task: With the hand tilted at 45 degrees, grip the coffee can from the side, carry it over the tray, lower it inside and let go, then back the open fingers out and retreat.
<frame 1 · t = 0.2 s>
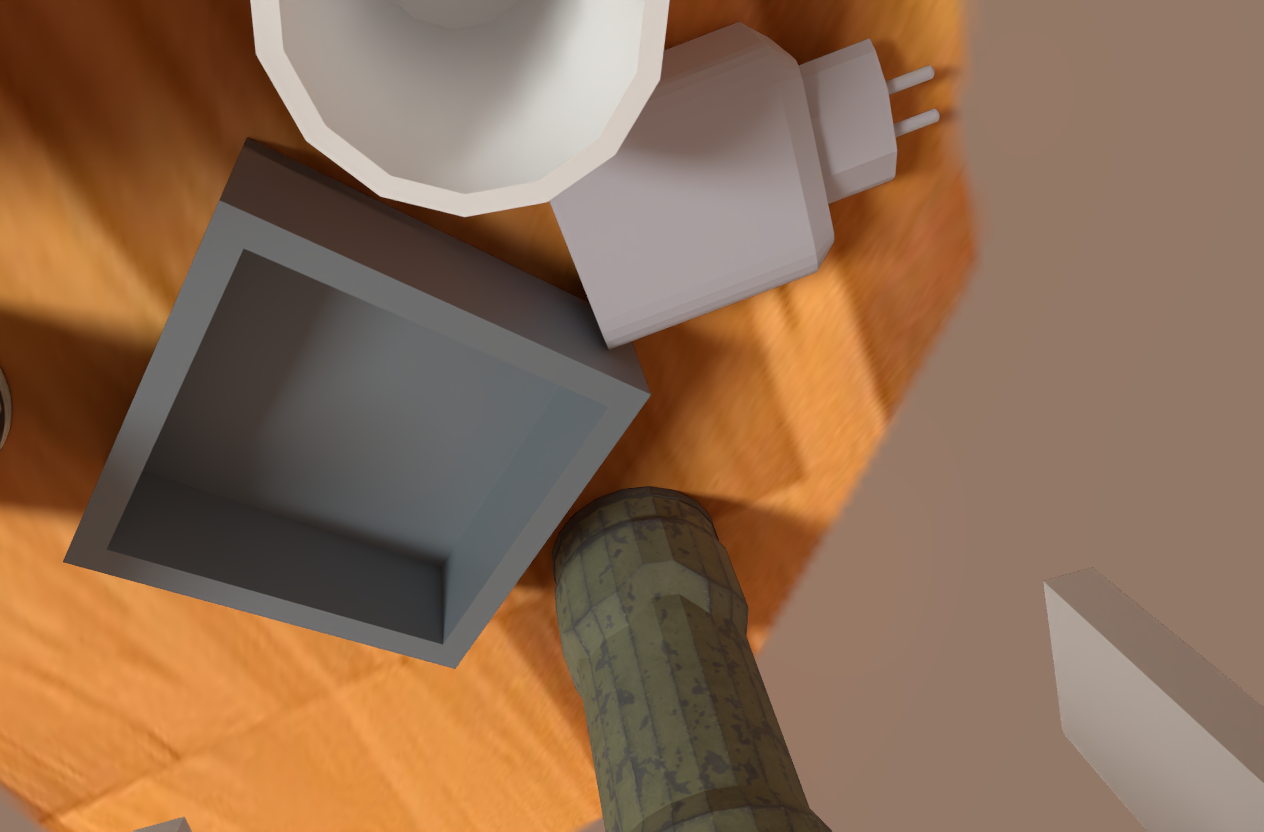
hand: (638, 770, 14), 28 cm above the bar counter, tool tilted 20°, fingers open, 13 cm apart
thermos: (634, 548, 50), on the bar counter
charger: (729, 140, 39), on the bar counter
tray: (366, 392, 42), on the bar counter
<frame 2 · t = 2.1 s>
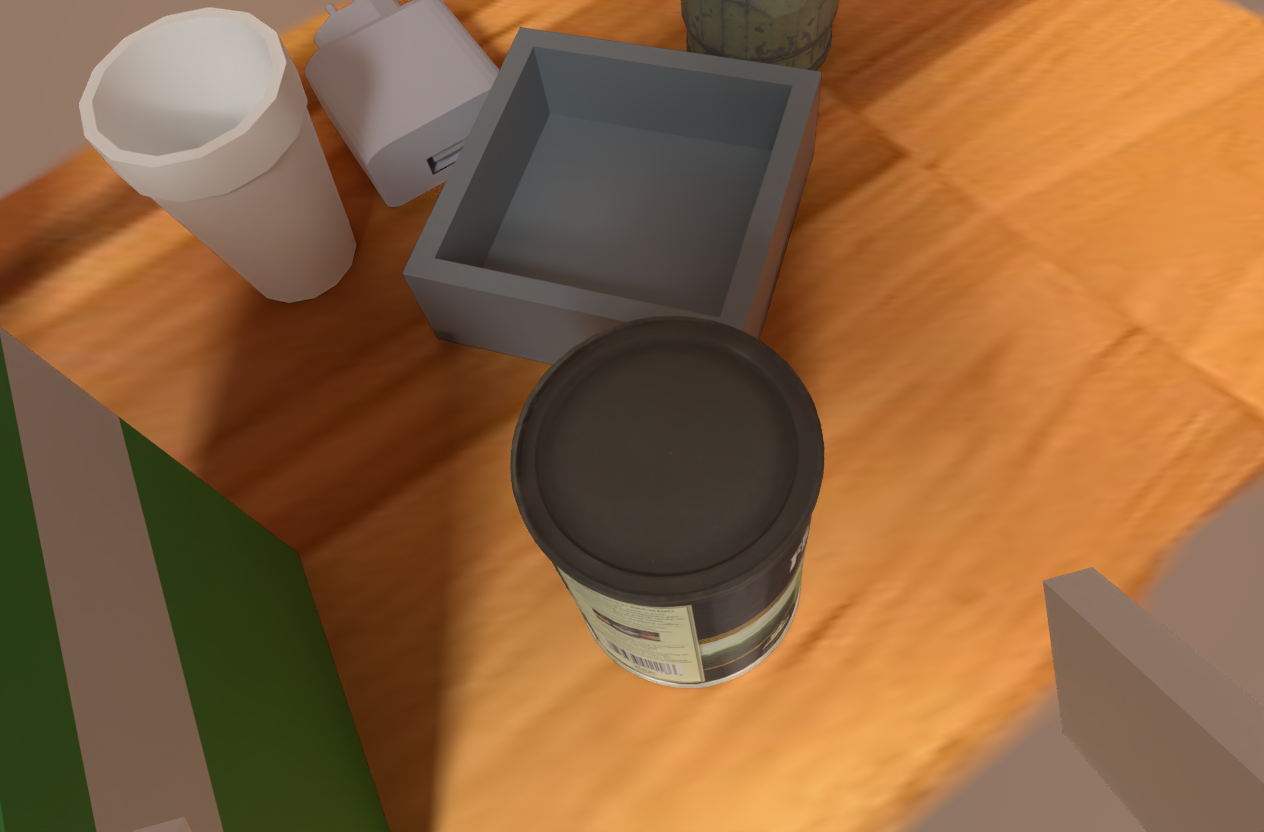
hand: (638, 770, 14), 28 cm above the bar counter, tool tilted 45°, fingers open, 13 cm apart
thermos: (756, 42, 58), on the bar counter
hardback book: (277, 763, 42), on the bar counter
charger: (406, 101, 60), on the bar counter
foam cup: (303, 257, 55), on the bar counter
coffee can: (687, 575, 44), on the bar counter
tray: (630, 243, 53), on the bar counter
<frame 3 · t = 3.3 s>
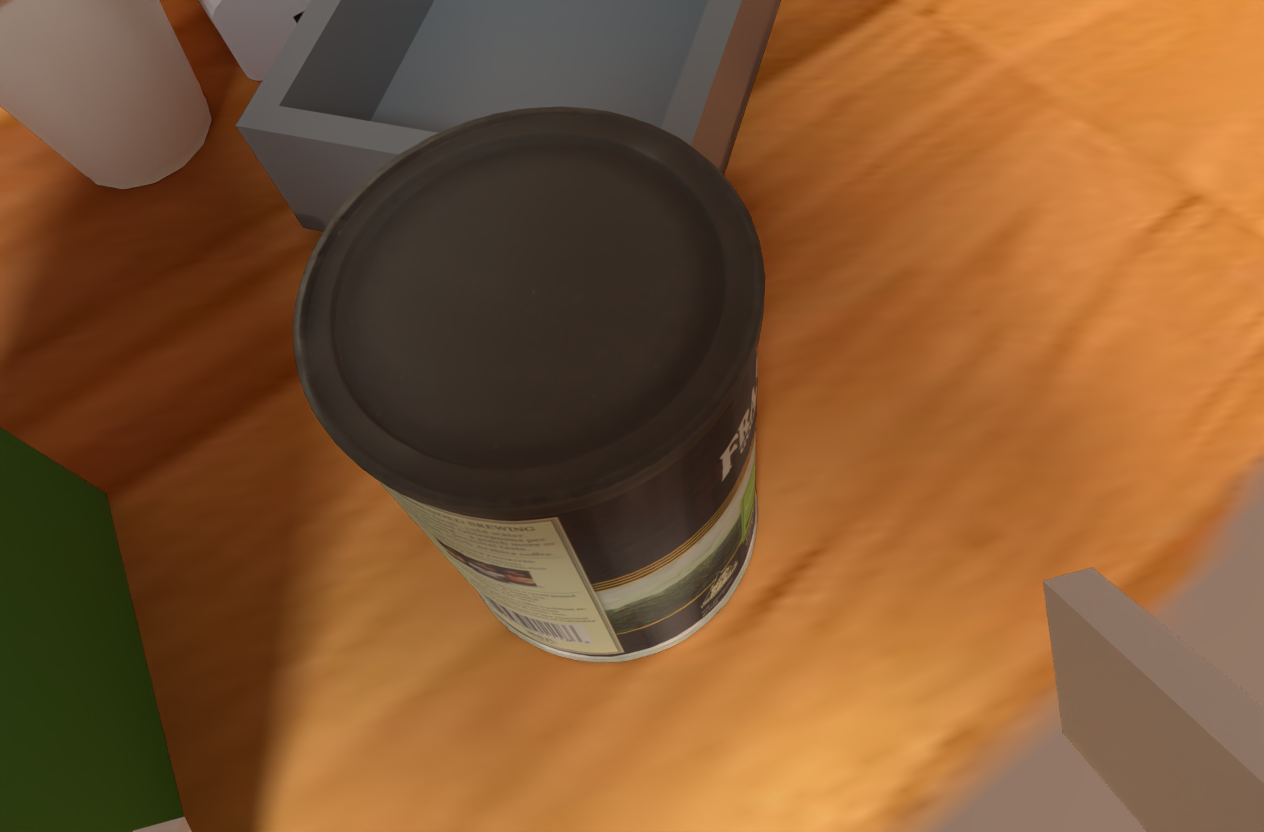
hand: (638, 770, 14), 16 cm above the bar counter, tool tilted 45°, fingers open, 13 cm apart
hardback book: (55, 767, 32), on the bar counter
foam cup: (146, 136, 44), on the bar counter
coffee can: (607, 515, 34), on the bar counter
tray: (550, 110, 42), on the bar counter
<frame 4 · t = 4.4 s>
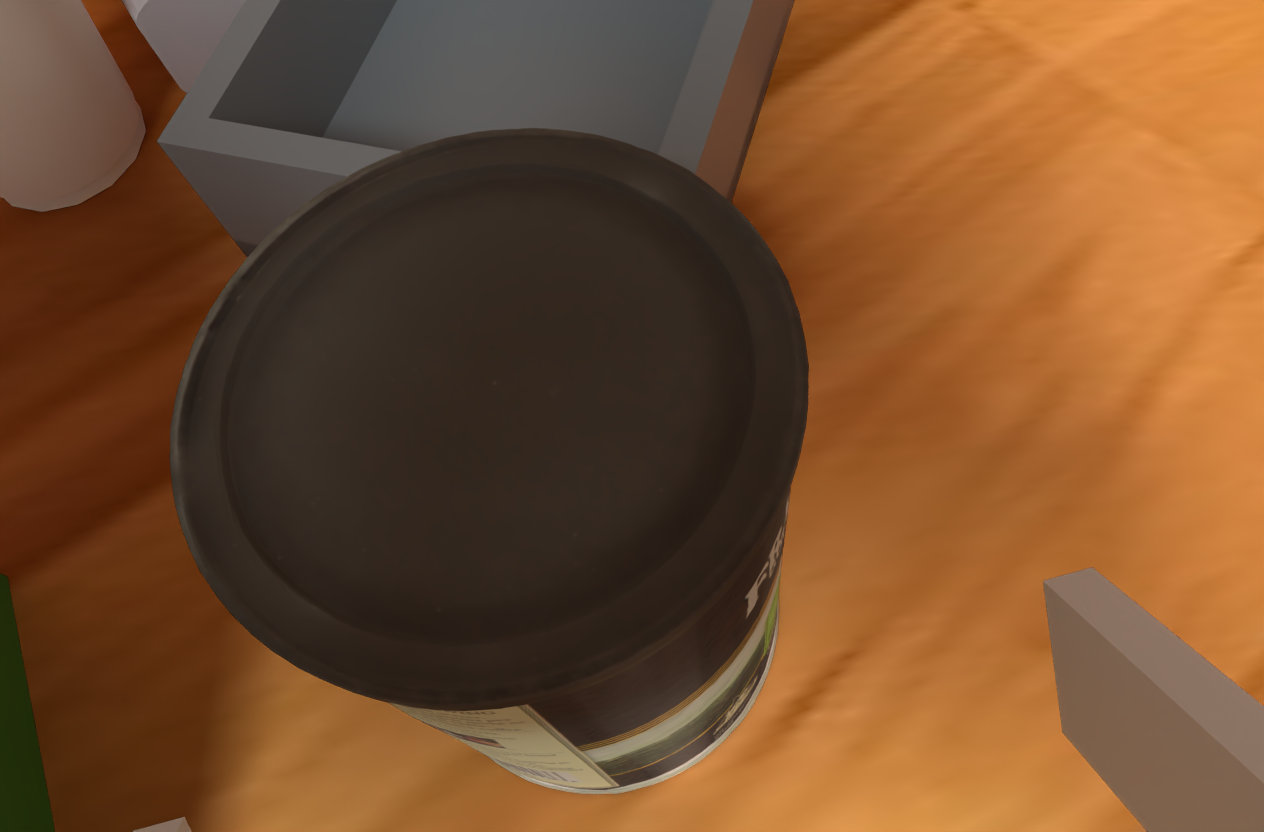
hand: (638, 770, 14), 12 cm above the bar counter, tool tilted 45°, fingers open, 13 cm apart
foam cup: (71, 150, 38), on the bar counter
coffee can: (599, 606, 28), on the bar counter
tray: (532, 119, 36), on the bar counter
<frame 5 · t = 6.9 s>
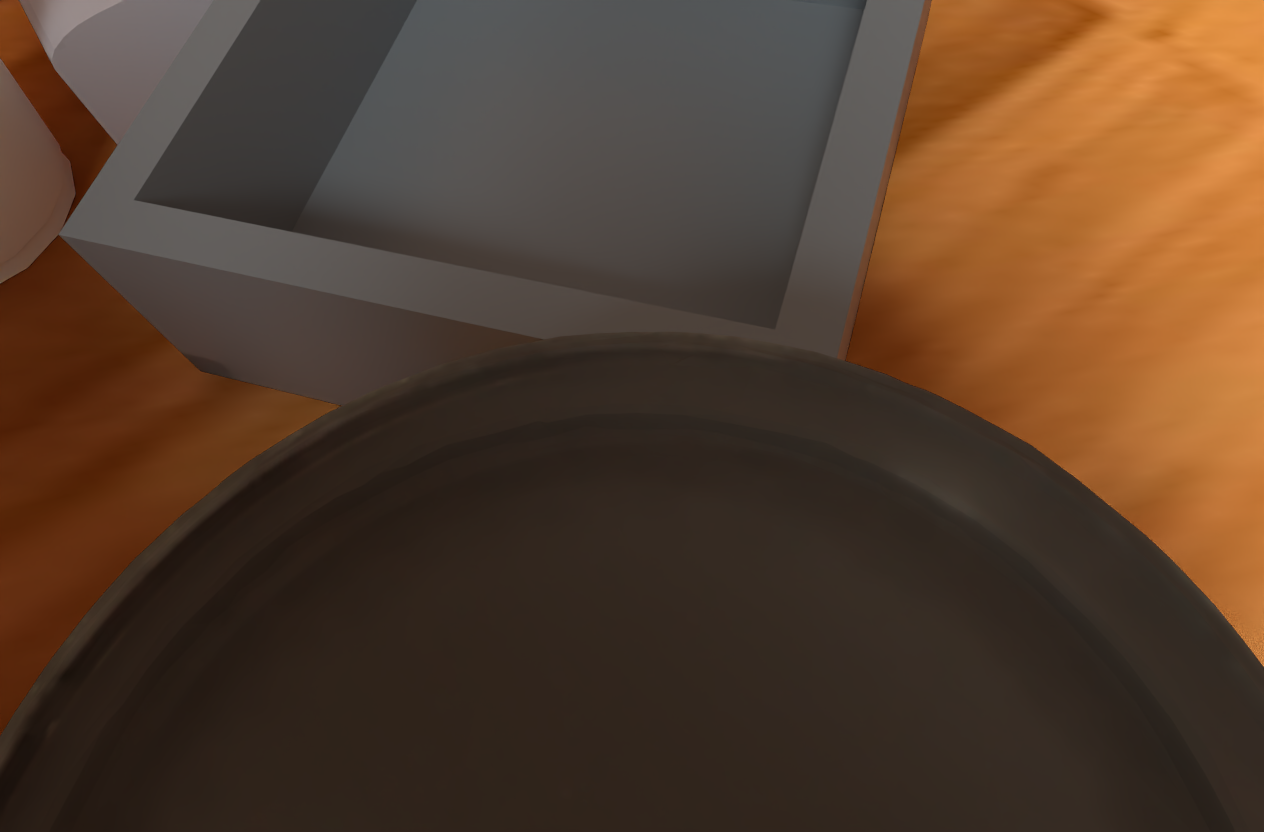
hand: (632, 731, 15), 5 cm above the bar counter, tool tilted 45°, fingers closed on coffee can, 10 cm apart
tray: (583, 184, 27), on the bar counter
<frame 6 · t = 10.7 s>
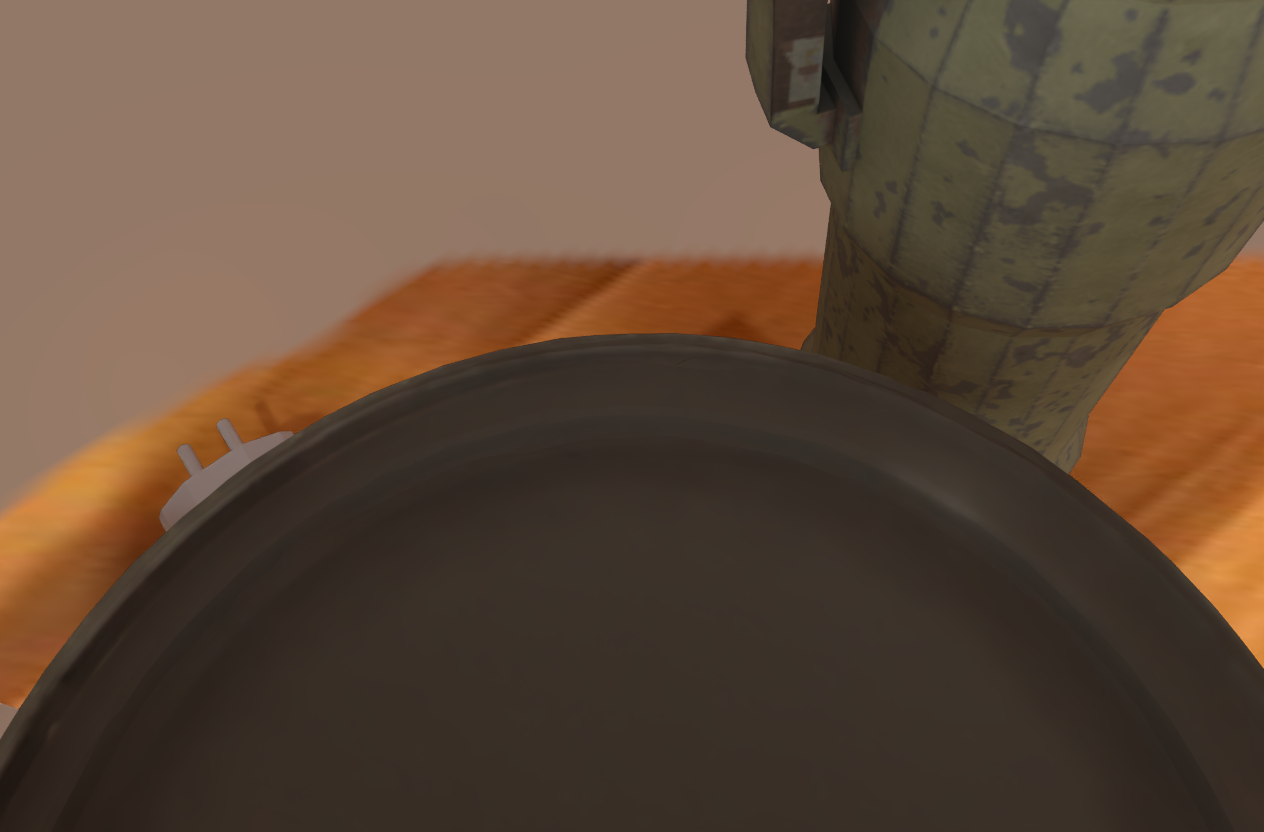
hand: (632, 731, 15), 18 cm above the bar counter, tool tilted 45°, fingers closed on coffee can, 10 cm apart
thermos: (901, 479, 36), on the bar counter
charger: (318, 602, 37), on the bar counter
when the fingers open (8 cm above the bar counter, at t = 13.3 s): coffee can drops 2 cm, resting on tray.
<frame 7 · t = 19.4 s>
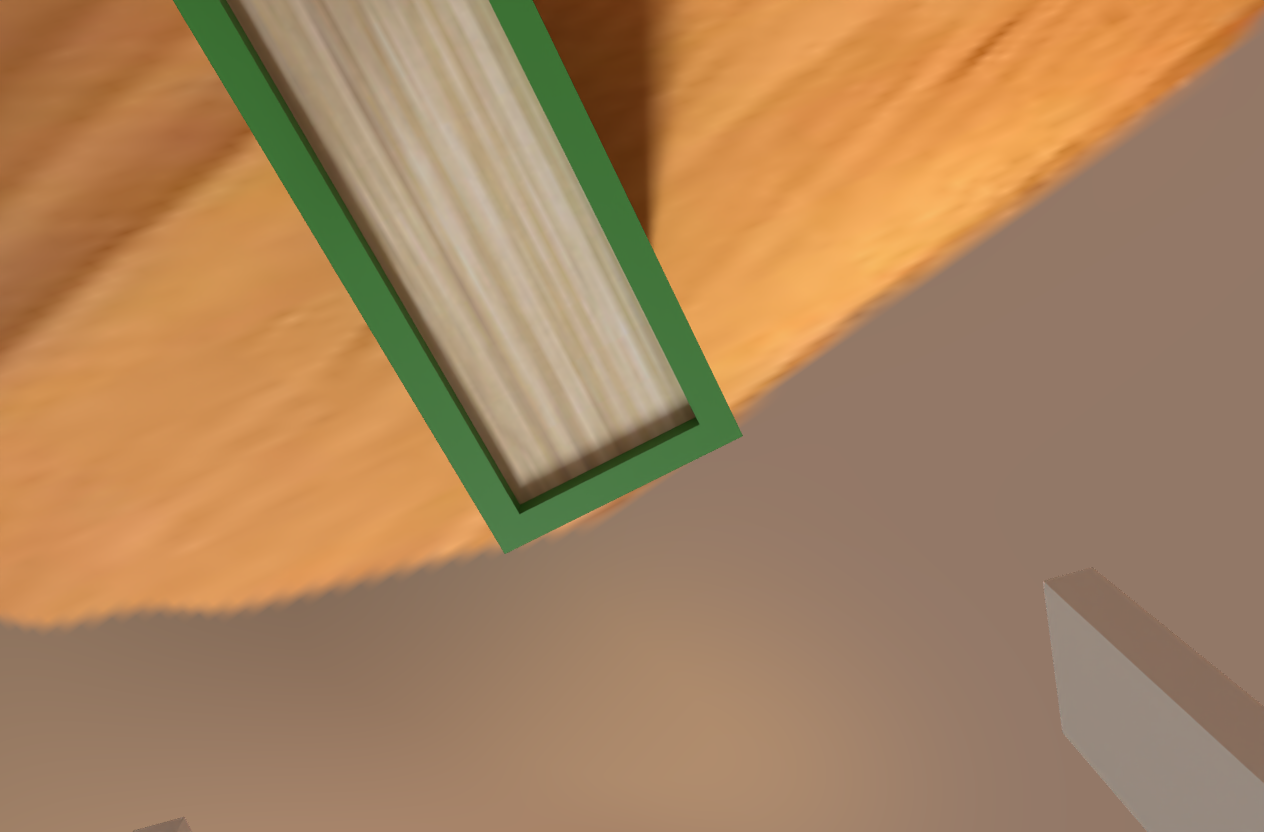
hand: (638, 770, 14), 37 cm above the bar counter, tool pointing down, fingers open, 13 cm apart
hardback book: (500, 162, 47), on the bar counter
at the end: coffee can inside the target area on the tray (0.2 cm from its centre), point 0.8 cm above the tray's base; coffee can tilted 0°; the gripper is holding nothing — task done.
